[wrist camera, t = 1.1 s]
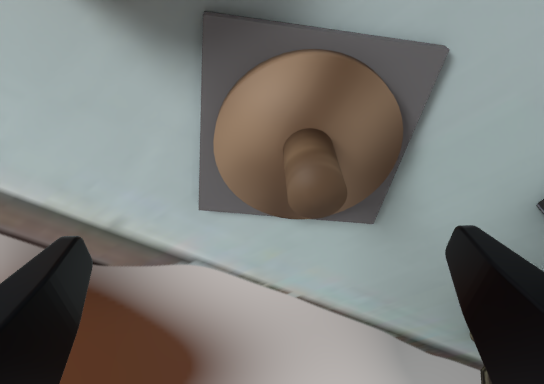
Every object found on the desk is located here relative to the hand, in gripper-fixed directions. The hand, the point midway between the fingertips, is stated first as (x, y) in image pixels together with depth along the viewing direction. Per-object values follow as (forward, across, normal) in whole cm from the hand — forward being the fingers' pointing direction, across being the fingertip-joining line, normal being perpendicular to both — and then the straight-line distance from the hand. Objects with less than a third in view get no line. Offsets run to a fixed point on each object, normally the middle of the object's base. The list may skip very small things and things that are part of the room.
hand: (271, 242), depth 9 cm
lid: (+12, -2, +4) cm, 13 cm away
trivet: (+13, -2, +4) cm, 14 cm away
